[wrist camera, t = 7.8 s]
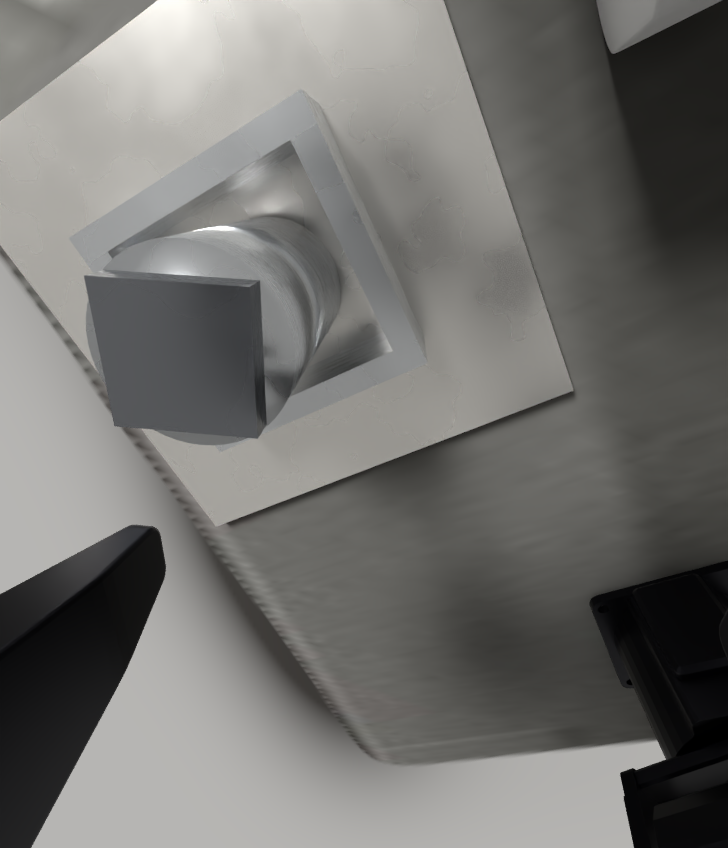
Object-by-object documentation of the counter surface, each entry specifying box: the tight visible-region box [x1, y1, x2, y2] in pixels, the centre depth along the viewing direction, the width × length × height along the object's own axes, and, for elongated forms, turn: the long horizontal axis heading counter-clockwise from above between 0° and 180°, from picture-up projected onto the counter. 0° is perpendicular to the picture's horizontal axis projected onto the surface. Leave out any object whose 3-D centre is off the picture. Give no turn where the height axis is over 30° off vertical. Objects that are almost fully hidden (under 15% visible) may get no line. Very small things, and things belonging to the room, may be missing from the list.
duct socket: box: [0, 0, 574, 527], centre depth 16 cm, size 16×16×3 cm
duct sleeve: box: [84, 217, 341, 445], centre depth 13 cm, size 5×5×8 cm
